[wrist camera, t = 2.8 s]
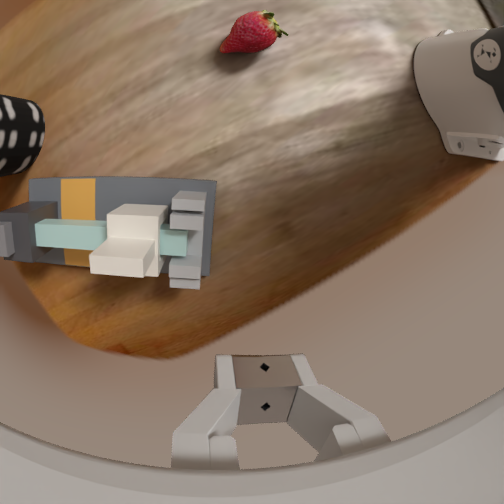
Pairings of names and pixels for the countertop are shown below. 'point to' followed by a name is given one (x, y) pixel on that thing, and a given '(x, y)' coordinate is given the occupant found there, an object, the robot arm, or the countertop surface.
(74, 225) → the pale teal rod
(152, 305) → the countertop surface
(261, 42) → the fruit
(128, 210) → the sleeve
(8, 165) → the white-spotted black cylinder
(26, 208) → the block
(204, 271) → the board
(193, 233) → the gray notched block
